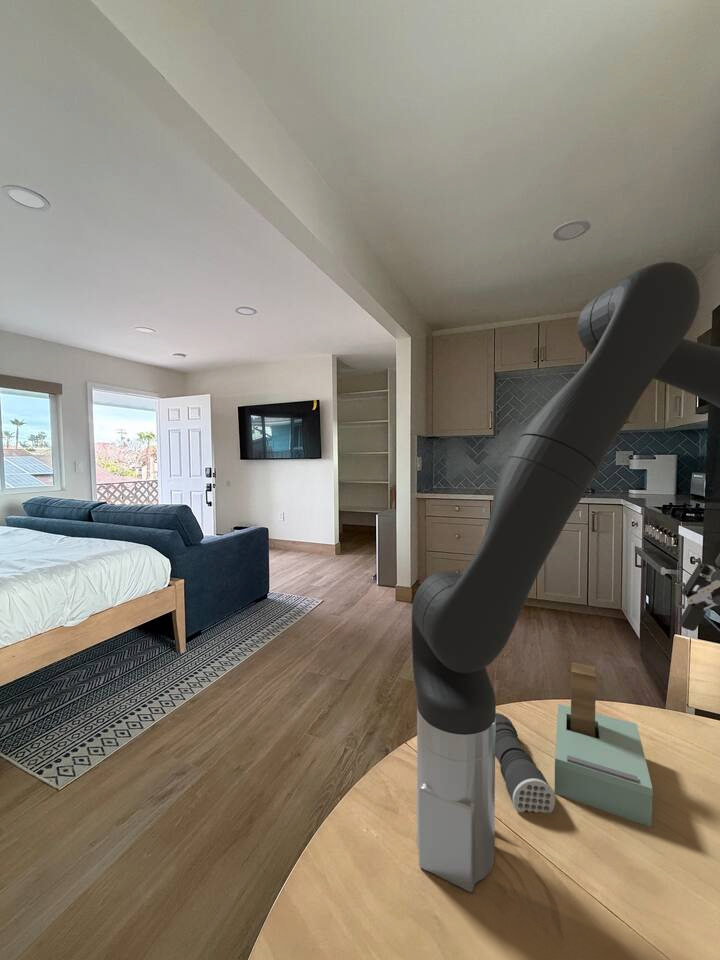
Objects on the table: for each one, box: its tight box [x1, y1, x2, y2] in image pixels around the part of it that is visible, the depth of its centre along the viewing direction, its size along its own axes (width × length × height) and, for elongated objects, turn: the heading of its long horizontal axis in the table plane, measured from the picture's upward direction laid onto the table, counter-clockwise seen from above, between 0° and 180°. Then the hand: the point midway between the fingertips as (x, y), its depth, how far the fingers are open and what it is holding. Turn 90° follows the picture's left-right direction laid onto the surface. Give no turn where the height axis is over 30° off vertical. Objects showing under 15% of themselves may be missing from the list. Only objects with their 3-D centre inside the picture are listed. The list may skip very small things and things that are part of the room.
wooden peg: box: [570, 662, 597, 738], centre depth 61 cm, size 3×3×14 cm
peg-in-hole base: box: [553, 703, 654, 828], centre depth 59 cm, size 14×11×6 cm
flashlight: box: [495, 712, 556, 813], centre depth 60 cm, size 15×5×5 cm, turn 0°
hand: (705, 644), depth 59 cm, fingers open, 8 cm apart
